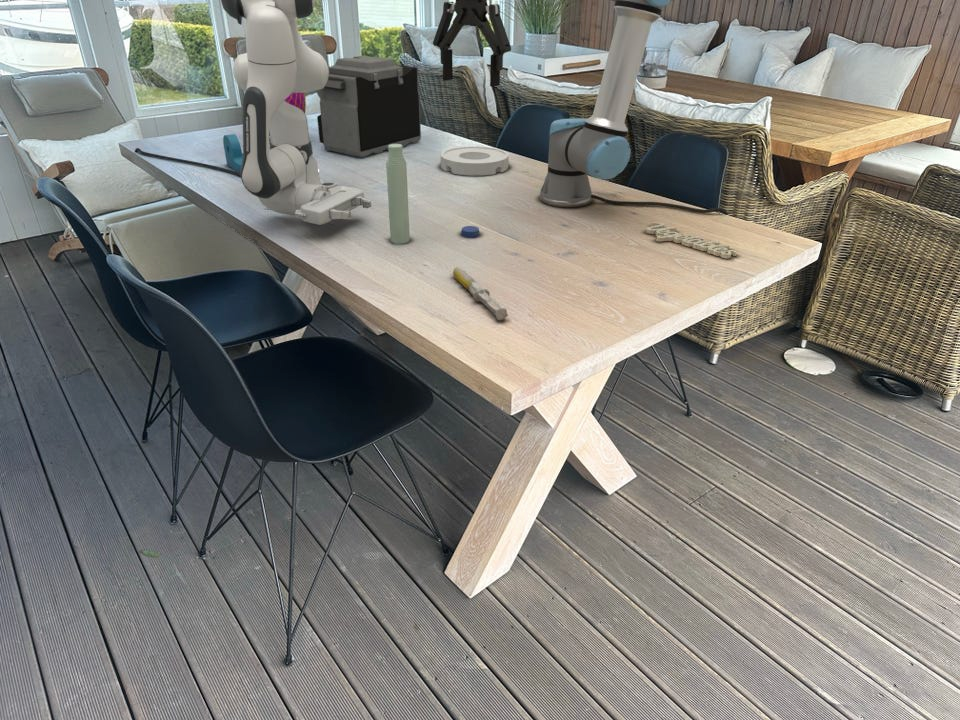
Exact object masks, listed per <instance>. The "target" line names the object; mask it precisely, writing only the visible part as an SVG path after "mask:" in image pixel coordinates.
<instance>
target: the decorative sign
mask: <svg viewBox="0 0 960 720" xmlns="http://www.w3.org/2000/svg"><path fill="white" fill-rule="evenodd" d="M650 225H651V226H647V227H646V229H645V233H646V234H650V235H655V236H656V239H655V242H667V241H668V242H673V243H676V244H681V245H682V246H686V247H689V248H690V247H691V248H692V249H695V250H699V251H701V252H707V254H710V255H713V256H715V257H720V258H722V259H731V256H733V257H736V256H737V253H738V252H737V251H736V250H735V249H730V247H731V246H730V244H725V243H724V244H723V243H722V244H720V243H721V242H720V241H718V240H716V241H715V240H714V241H713V240H711V241H705V240H704V238H703V237H701V236H697V235H696V236H695V235H693V234H688V235H686V234H683V233H678V232H677V227H675V226H667V227H665V223H662V222H655V221H651V224H650Z"/></svg>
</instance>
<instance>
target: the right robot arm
mask: <svg viewBox="0 0 960 720" xmlns="http://www.w3.org/2000/svg"><path fill="white" fill-rule="evenodd" d="M611 1H612V2H615V3H614V7H613V9H614V10H615V12H616V14H617V19H616V23H615V27H614V31H613V35H612V38H611V41H610V42H611V43H610V46H609V50H608V55H607V58H606V62H605V66H604V70H603V74H602V78H601V82H600V86H599V90H598V94H597V97H596V101H595V105H594V108H593V113H592V114H591V116H590V117H588V118H586V117H585V118H580V117H577V118H576V117H575V118H574V117H573V118H562V119H556V120H554V121H553V122H551V124H550V127H549V128H550V129H549V134H548V136H549V141H548V142H549V143H548V156H547V157H548V159H547V173H546V176H545V178H544V181H543V184H542V186H541V188H540V192H539V200H540V202H542V203H543V204H546V205H549V206H553V207H558V208H559V207H560V208H580V207H584V206H588V205H589V204H591V203H592V199H594V200H596V201H600V202H603V203H605V204H612V205H618V206H619V205H623V206H656V207H657V206H659V207H666V208H673V209H679V210H685V211H688V212H693V213H700V214H709V213H715V212H720V213H721V214H723V215H724V216H729V215H730V214H729V212H728V211H727V210H725V209H724V208H721V207H713V208H707V209H702V208H695V207H691V206H687V205H682V204H674V203H669V202H662V201H661V202H659V201H630V200H629V201H626V200H613V199H607V198H604V197H601V196H598V195H595V194H593V193H592V188H591V184H590V179H589V177H592V178H595V179H599V180H611V179H613V178H615V177H617V176H618V175H619V174H621V173H623V171H624V170H625V168H627V165H628V164H629V161H630V158H631V153H632V151H631V147H630V143H629V142H628V141H627V137H628V136H627V135H628V132H629V129H628V127H627V125H626V123H625V121H626V117H627V114H628V111H629V108H630V103H631V100H632V97H633V92H634V90H635V86H636V82H637V78H638V75H639V71H640V68H641V63H642V60H643V56H644V53H645V49H646V46H647V42H648V38H649V35H650V31H651V28H652V24H653V23H654V22H656V21H657V20H659V19H660V18H661V14H662V12H663V8H664V7H665V6H668V5H669V4H670V3H671V1H672V0H611ZM442 9H443V10H442V14H441V17H440V20H439V23H438V26H437V29H436V31H435V34H434V38H433V40H432V45H433V46H434V47H437V48H439V51H440V52H439V53H440V54H439V55H440V64H441V65H442V80H443V81H445V82H446V81H451V80H453V77H454V76H453V71H454V70H453V69H454V68H453V63H454V62H453V49H451V48H452V47H451V46H452V44H453V43H454V41H455V40H456V38H457V37H458V35H459V34H460V32H461V30H462V29H463V27H464V26H465V27H466V26H470V27H476V28H477V29H478V30H480V32H481V34H482V36H483V38H484V39H485V41H486V43H487V45H488V46H489V48H490V49H491V51H492V54H490V62H489V63H490V70H489V87H491V88H494V87H498V86H500V84H501V71H503V68H504V54H506V53H509V52H511V51H512V46H511V43H510V40H509V37H508V34H507V31H506V29H505V26H504V23H503V19H502V16H501V7H500V4H498V3H495V4H494V3H493V4H489V5H488V0H455V2H454V1H445V2H443V6H442ZM454 13H455V14H456V15H455V17H454ZM487 15H488V16H489V19H488V17H487ZM453 17H454V18H453ZM489 20H490V21H489ZM451 23H452V24H451Z"/></svg>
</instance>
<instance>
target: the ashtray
mask: <svg viewBox="0 0 960 720" xmlns="http://www.w3.org/2000/svg"><path fill="white" fill-rule="evenodd" d="M509 157H510V154H509V153H508V152H507V151H505V150H503V149H500V148H496V147H489V146H481V145H480V146H479V145H478V146H477V145H472V146H470V145H468V146H467V145H465V146H457V147H451V148H447V149H444V150H443V151H441V152H440V168H441V169H442V170H443V171H444V172H451V174H454V175H460V176H470V177H471V176H472V177H473V176H480V177H481V176H491V175H496V173H503V172H505V171H507V170H508V169H509V162H510V161H509V159H510V158H509Z"/></svg>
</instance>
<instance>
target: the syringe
mask: <svg viewBox="0 0 960 720" xmlns="http://www.w3.org/2000/svg"><path fill="white" fill-rule="evenodd" d="M452 274H453V277H454V279H455V280H457V281H458V282H459V283H460V285H462V287H464V289H466V290H467V291H468V293H470V295H471V296H472V298H473V300H474V302H477V303H478V302H480V303H482V304H483V305H484V306H485V307H486V308H487V309H488V310H489V311H490V312H491V313H492V314H493V315H494V316H495V317H496V320H497V321H503V320H504V319H506V318H507V317H509V314H508V310H507V308H506V307H502V306H501V305H500V303H498V302H497V301H496V300H494V299H493V298H492V297H491V296H490V295H491V293H490V290H488V289H486V288H483V287H482V286H481V285H480V284H479V283H478V282H477V281H476V280H474V278H473V277H471V275H469V274H468V273H467V272H466V270H465V269H464V268H463V267H462V266H456V267H454V268H453V271H452Z"/></svg>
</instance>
